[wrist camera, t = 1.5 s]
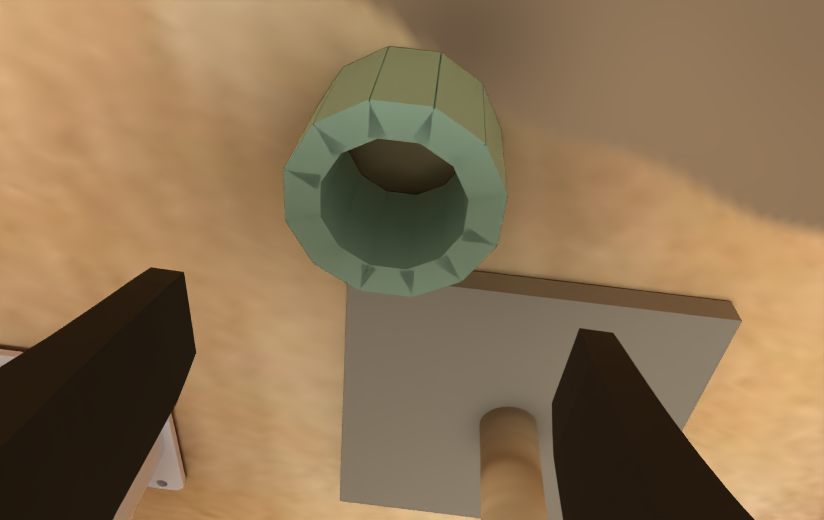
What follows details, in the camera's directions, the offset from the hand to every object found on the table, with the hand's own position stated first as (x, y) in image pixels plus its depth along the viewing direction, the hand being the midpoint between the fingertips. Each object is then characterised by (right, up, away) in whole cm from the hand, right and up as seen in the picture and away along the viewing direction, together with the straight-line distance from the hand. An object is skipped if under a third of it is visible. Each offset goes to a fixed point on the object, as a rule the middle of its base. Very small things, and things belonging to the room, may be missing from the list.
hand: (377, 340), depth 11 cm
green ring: (0, +5, +7) cm, 9 cm away
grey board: (+4, -4, +13) cm, 15 cm away
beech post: (+4, -5, +12) cm, 14 cm away
